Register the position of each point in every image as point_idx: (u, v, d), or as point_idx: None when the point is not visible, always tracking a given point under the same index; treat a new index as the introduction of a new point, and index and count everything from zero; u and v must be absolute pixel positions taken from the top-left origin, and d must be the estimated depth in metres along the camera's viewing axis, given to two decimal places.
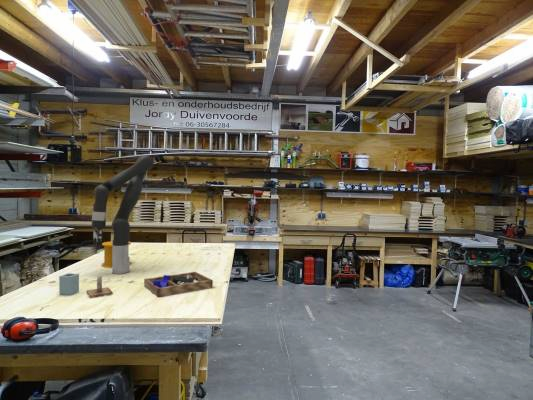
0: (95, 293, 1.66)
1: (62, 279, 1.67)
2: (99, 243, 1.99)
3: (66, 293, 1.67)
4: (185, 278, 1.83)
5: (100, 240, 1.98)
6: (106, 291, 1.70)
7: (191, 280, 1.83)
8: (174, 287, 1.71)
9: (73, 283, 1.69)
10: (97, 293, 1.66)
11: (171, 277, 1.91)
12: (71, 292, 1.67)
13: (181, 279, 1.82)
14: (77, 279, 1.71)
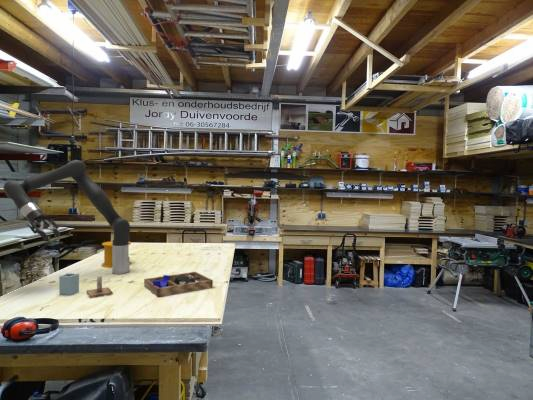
0: (95, 293, 1.66)
1: (62, 279, 1.67)
2: (41, 234, 1.68)
3: (66, 293, 1.67)
4: (187, 278, 1.83)
5: (36, 231, 1.67)
6: (106, 291, 1.70)
7: (193, 280, 1.84)
8: (174, 287, 1.71)
9: (73, 283, 1.69)
10: (97, 293, 1.66)
11: (171, 277, 1.91)
12: (71, 292, 1.67)
13: (184, 279, 1.82)
14: (77, 279, 1.71)
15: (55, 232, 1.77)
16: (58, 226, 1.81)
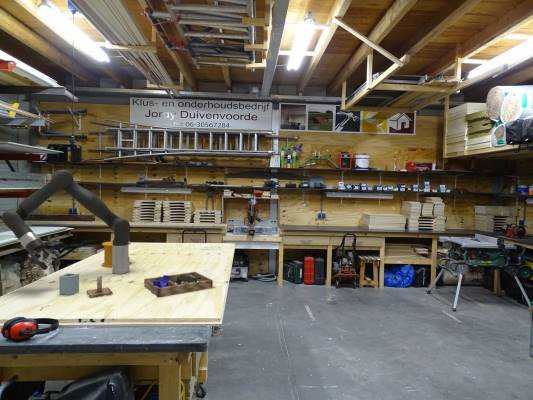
0: (95, 293, 1.66)
1: (62, 279, 1.67)
2: (41, 265, 1.66)
3: (66, 293, 1.67)
4: (189, 278, 1.84)
5: (36, 262, 1.64)
6: (106, 291, 1.70)
7: (195, 279, 1.85)
8: (174, 287, 1.71)
9: (73, 283, 1.69)
10: (97, 293, 1.66)
11: (171, 277, 1.91)
12: (71, 292, 1.67)
13: (186, 279, 1.83)
14: (77, 279, 1.71)
15: (55, 261, 1.75)
16: None
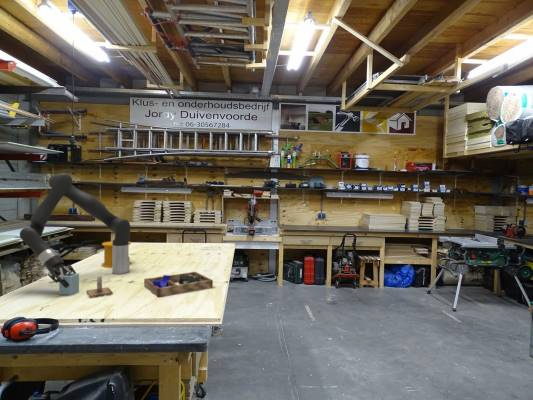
0: (95, 293, 1.66)
1: None
2: (62, 282, 1.65)
3: (66, 293, 1.67)
4: (192, 277, 1.84)
5: (58, 280, 1.64)
6: (106, 291, 1.70)
7: (198, 279, 1.86)
8: (174, 287, 1.71)
9: (73, 283, 1.69)
10: (97, 293, 1.66)
11: (171, 277, 1.91)
12: (71, 292, 1.67)
13: (188, 278, 1.83)
14: (77, 279, 1.71)
15: None
16: None
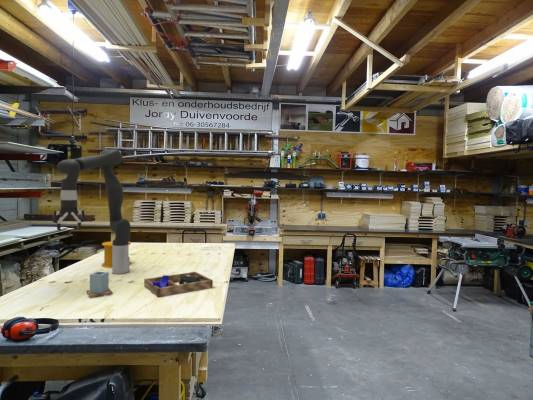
0: (95, 293, 1.66)
1: (93, 277, 1.67)
2: (80, 224, 1.80)
3: (96, 291, 1.67)
4: (193, 277, 1.84)
5: (83, 220, 1.81)
6: (106, 291, 1.70)
7: (199, 279, 1.86)
8: (174, 287, 1.71)
9: (104, 281, 1.69)
10: (97, 293, 1.66)
11: (171, 277, 1.91)
12: (102, 290, 1.67)
13: (190, 279, 1.83)
14: (107, 277, 1.71)
15: None
16: None
